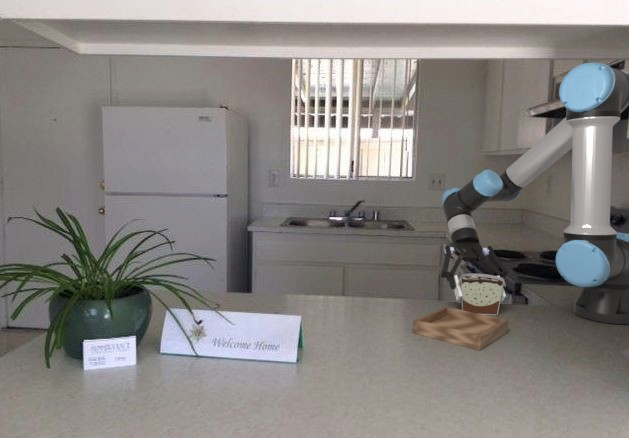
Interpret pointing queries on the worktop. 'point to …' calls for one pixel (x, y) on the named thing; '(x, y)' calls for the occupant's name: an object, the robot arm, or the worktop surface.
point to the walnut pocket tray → (461, 327)
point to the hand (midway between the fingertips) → (481, 298)
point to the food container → (481, 293)
